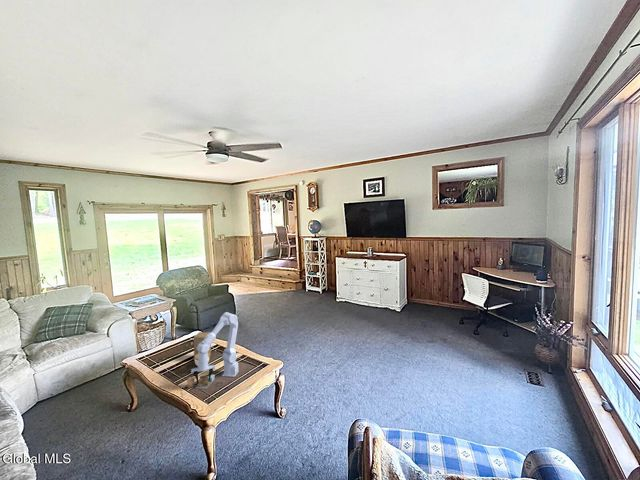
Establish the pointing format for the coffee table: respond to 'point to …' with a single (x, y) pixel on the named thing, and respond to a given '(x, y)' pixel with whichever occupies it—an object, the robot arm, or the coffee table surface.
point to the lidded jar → (198, 359)
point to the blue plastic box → (211, 378)
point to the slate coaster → (203, 387)
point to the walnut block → (203, 381)
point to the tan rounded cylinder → (190, 382)
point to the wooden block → (198, 340)
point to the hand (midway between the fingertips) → (203, 381)
